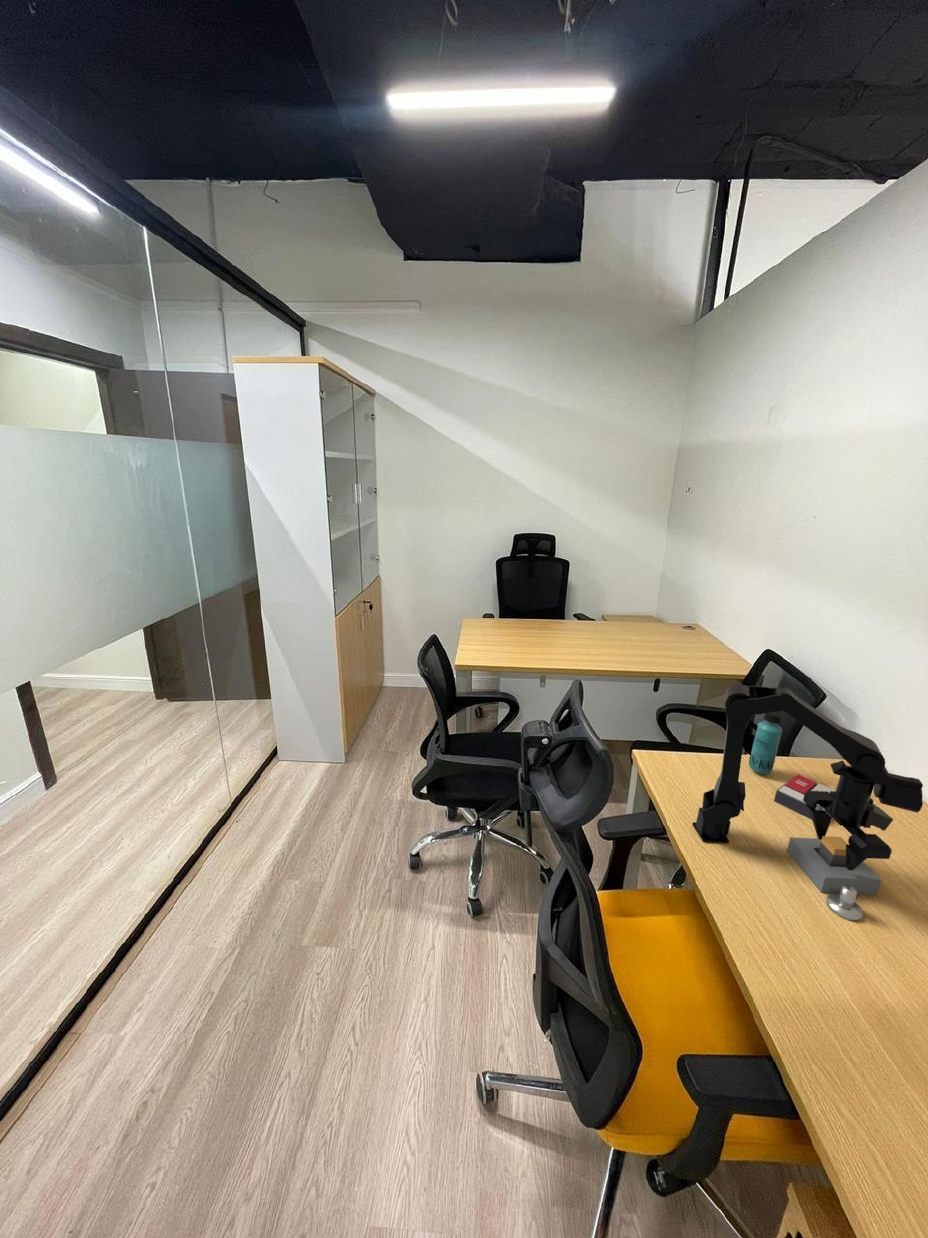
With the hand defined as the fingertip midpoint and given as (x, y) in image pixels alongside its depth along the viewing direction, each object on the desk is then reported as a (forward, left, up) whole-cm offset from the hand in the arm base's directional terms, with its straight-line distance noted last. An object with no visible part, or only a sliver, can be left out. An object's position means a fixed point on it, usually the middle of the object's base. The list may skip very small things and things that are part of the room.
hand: (834, 853), depth 109 cm
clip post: (-4, -10, -5) cm, 12 cm away
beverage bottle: (+6, +39, -5) cm, 40 cm away
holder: (0, 0, -5) cm, 5 cm away
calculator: (+12, +26, -6) cm, 29 cm away
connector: (0, 0, -5) cm, 5 cm away
